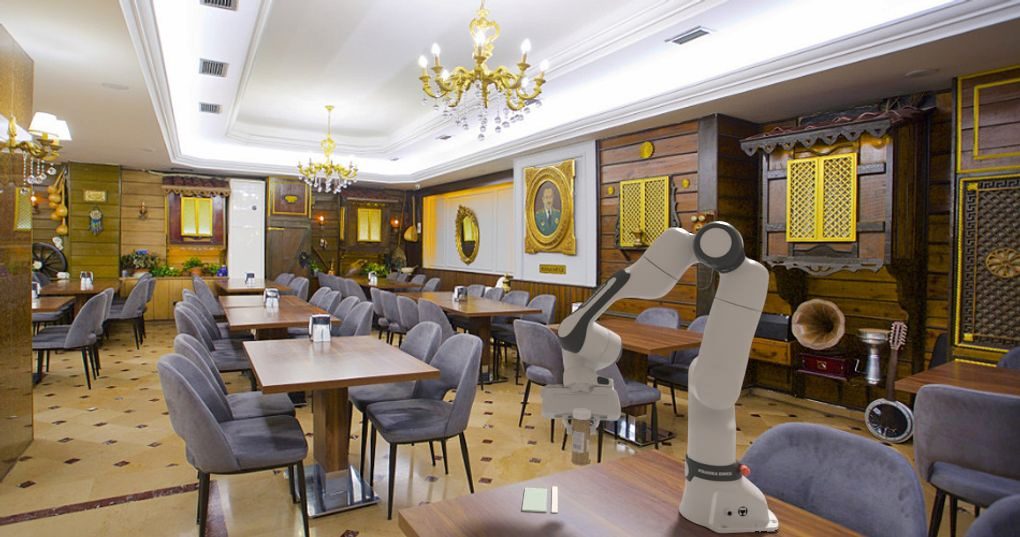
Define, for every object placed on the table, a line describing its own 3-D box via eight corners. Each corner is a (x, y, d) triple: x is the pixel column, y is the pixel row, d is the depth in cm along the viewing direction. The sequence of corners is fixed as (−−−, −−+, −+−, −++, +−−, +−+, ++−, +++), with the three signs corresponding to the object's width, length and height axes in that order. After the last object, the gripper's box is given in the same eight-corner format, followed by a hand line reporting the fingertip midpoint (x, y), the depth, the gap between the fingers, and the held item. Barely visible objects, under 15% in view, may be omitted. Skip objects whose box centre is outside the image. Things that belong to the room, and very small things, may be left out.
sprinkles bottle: (593, 464, 138) (594, 410, 138) (579, 467, 135) (580, 413, 135) (581, 458, 142) (582, 406, 141) (567, 461, 139) (568, 408, 139)
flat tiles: (557, 487, 150) (557, 486, 150) (557, 513, 135) (557, 511, 135) (525, 485, 151) (525, 484, 151) (522, 511, 136) (522, 509, 136)
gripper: (540, 377, 146) (539, 426, 136) (619, 379, 144) (623, 428, 135) (541, 390, 150) (539, 438, 141) (617, 392, 149) (621, 440, 139)
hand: (581, 433), depth 138 cm, fingers closed on sprinkles bottle, 4 cm apart
